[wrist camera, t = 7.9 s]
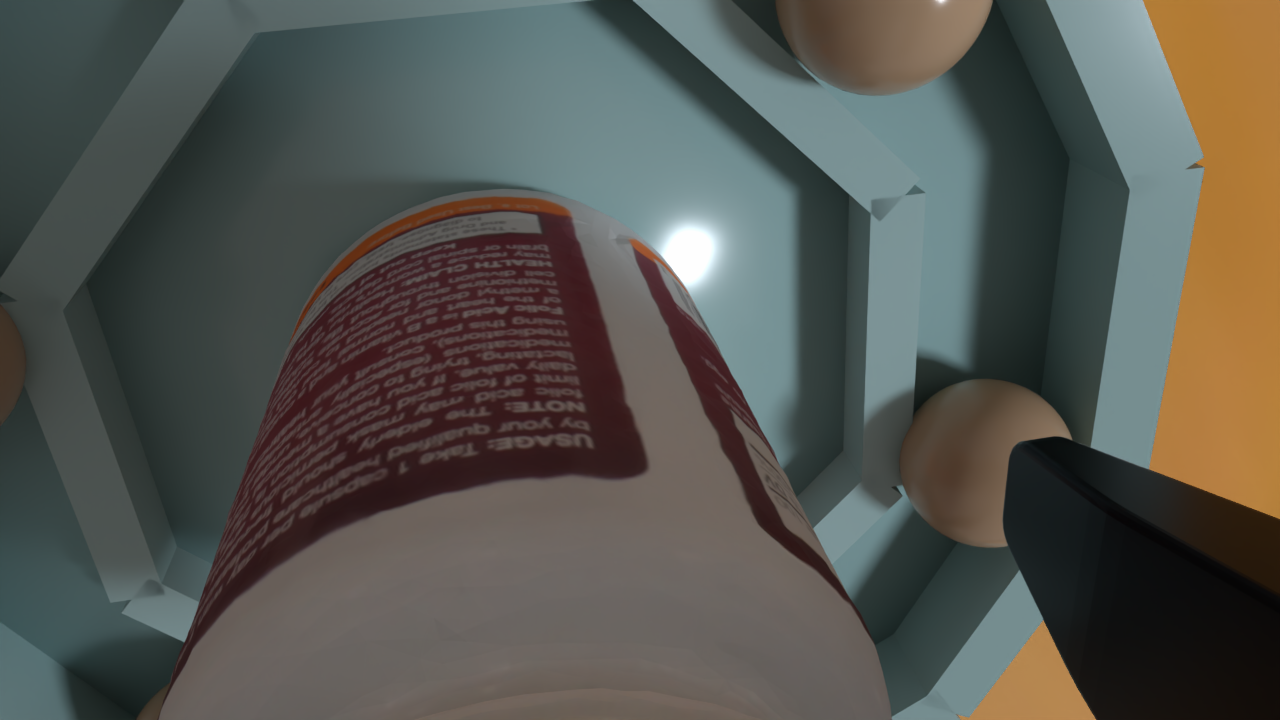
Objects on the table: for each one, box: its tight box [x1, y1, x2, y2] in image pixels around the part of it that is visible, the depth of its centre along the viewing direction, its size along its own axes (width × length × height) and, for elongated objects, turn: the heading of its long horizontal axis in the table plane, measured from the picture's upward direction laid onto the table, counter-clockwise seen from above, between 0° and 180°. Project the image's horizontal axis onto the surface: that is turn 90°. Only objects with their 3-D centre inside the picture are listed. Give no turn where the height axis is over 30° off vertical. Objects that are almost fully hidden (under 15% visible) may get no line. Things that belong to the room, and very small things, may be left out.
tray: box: [0, 0, 1205, 720], centre depth 11 cm, size 15×15×3 cm
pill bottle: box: [157, 189, 892, 720], centre depth 8 cm, size 5×5×8 cm
